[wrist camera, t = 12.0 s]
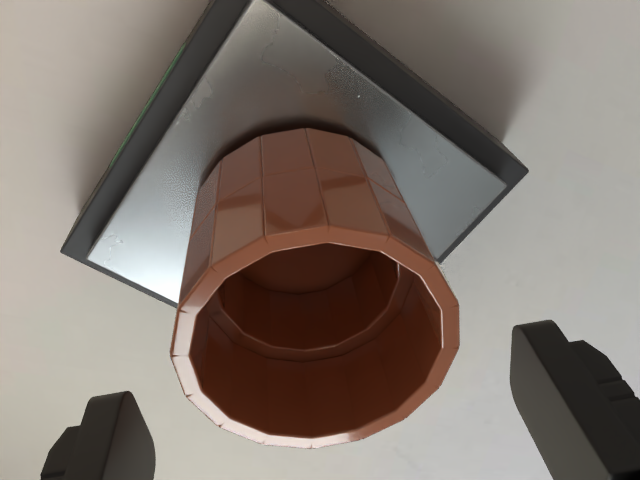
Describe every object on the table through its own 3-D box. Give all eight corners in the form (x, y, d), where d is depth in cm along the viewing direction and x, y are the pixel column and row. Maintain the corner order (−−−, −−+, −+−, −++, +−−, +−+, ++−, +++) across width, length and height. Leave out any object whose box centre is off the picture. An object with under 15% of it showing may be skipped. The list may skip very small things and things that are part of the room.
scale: (76, 216, 21) (57, 252, 19) (246, -62, 17) (246, -55, 15) (320, 341, 25) (327, 381, 23) (503, 144, 21) (530, 171, 19)
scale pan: (88, 247, 19) (83, 259, 18) (255, -12, 15) (255, -8, 15) (324, 363, 22) (326, 376, 22) (500, 176, 19) (509, 185, 18)
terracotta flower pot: (168, 143, 16) (132, 257, 11) (393, 104, 16) (458, 201, 11) (220, 319, 20) (210, 468, 15) (406, 286, 20) (460, 422, 15)
